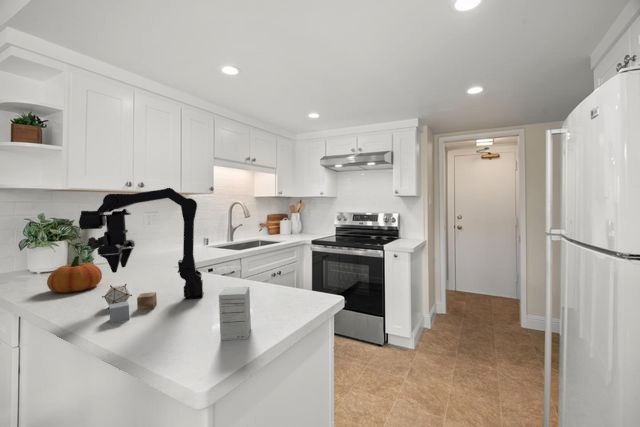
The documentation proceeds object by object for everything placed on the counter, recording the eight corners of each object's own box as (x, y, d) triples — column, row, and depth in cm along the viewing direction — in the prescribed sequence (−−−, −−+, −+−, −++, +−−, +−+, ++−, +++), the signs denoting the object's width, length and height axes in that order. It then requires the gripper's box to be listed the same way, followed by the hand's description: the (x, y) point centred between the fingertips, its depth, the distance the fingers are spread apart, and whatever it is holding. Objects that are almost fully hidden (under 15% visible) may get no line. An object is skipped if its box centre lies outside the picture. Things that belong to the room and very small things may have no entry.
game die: (119, 318, 107) (112, 301, 101) (101, 308, 109) (93, 292, 103) (139, 299, 114) (134, 283, 108) (122, 291, 116) (115, 274, 110)
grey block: (128, 315, 99) (127, 301, 99) (129, 320, 95) (128, 305, 95) (109, 319, 96) (109, 304, 96) (110, 324, 92) (109, 308, 92)
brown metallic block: (156, 305, 109) (156, 292, 109) (153, 309, 105) (152, 295, 104) (141, 307, 108) (140, 293, 108) (137, 311, 103) (136, 297, 103)
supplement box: (226, 329, 86) (224, 287, 86) (251, 328, 87) (250, 285, 86) (219, 341, 79) (217, 294, 79) (247, 339, 80) (246, 293, 79)
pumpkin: (36, 294, 127) (34, 259, 127) (83, 282, 146) (82, 252, 145) (68, 297, 122) (66, 261, 121) (112, 284, 140) (111, 253, 140)
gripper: (101, 227, 115) (104, 267, 115) (77, 231, 97) (81, 278, 97) (133, 225, 118) (136, 264, 119) (116, 229, 100) (119, 274, 101)
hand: (119, 269), depth 109 cm, fingers open, 9 cm apart
